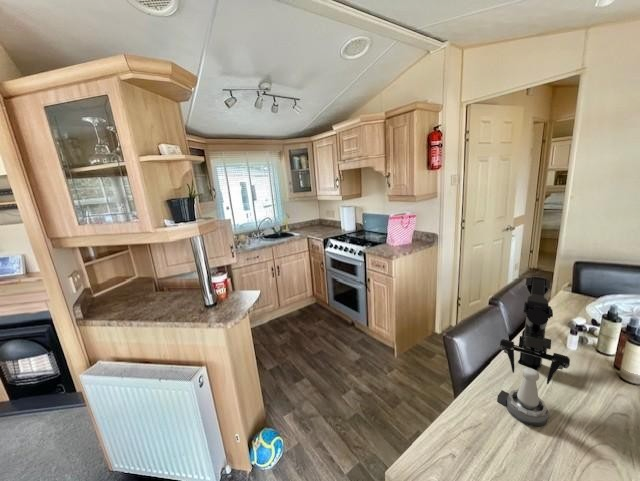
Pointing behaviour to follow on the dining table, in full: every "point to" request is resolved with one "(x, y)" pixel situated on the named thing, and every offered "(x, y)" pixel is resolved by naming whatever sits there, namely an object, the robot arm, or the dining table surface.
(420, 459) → the dining table surface
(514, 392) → the grey round shallow dish
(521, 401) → the salt shaker
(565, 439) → the dining table surface
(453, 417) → the dining table surface
